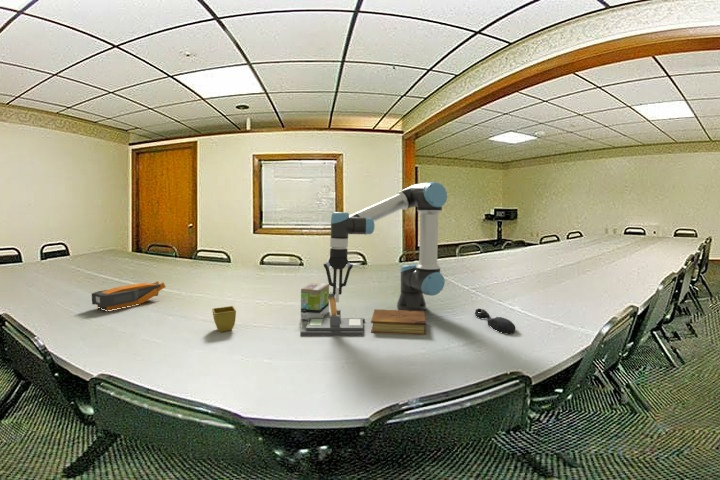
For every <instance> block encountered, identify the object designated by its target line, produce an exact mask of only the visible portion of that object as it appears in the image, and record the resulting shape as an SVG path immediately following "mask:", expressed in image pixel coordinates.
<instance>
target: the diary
mask: <svg viewBox="0 0 720 480" xmlns="http://www.w3.org/2000/svg"><path fill="white" fill-rule="evenodd" d="M371 316H372V317H371V319H370V324H372V327H371V331H370V333H371V334H373V333H374V334H390V335H391V334H394V335H395V334H396V335H411V336H413V335H414V336H416V335H417V336H427V333H426V327H425V326H427V321H426V320H427V319H426V313H425V310H424V311H407V310H399V309H375V308H374V310H373V313H372V315H371Z"/></svg>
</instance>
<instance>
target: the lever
mask: <svg viewBox="0 0 720 480" xmlns="http://www.w3.org/2000/svg"><path fill="white" fill-rule="evenodd" d="M328 298H329V308H330V312H331V313H330V315H331V314H332V315H337V309H338V308H337V302H335V294H333V291H329V296H328Z"/></svg>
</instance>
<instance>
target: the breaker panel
mask: <svg viewBox="0 0 720 480" xmlns="http://www.w3.org/2000/svg"><path fill="white" fill-rule="evenodd" d="M341 315H342V314H341V309H340V308H339V309H338V308H337V315H332V314H331V313H330V314H329V317H322V318H310V319H309V322H308V321H307V324H306V327H305V331H363V332H364V322H363V317H342V316H341Z"/></svg>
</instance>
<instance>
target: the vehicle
mask: <svg viewBox="0 0 720 480" xmlns="http://www.w3.org/2000/svg"><path fill="white" fill-rule="evenodd" d="M165 288H166V285H165V283H164V282H161V283H160V282H159V281H156V282H155V281H154V282H153V283H151V282H147V283H146V282H143V283H142V282H141V283H134V284H129V285H123V286H118V287H113V288H110V289H104V290H99V291H95V292H92V293H91V304H92V305H97V308H98V307H100V308H102V309H105V310H107V311H108V310H112V309H117V308H122V307H127V306H132V305H136V304H140V305H142V304H144V303H145V302H147V301H149V300H151V299H152V298H153V297H157V296H159V293H160V291H162V290H164V289H165ZM141 303H142V304H141ZM107 311H106V312H107Z"/></svg>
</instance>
